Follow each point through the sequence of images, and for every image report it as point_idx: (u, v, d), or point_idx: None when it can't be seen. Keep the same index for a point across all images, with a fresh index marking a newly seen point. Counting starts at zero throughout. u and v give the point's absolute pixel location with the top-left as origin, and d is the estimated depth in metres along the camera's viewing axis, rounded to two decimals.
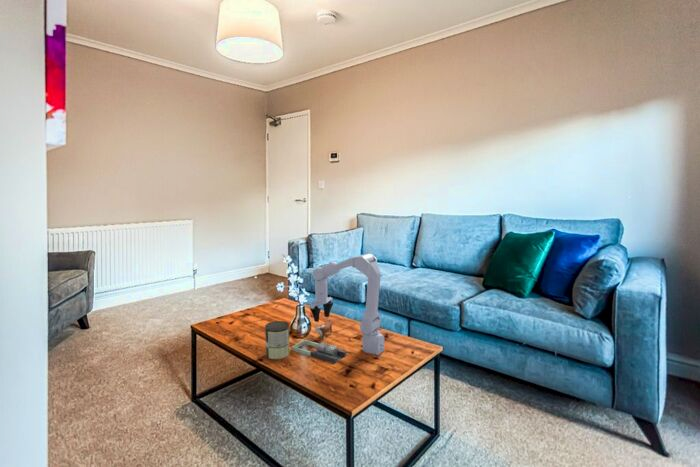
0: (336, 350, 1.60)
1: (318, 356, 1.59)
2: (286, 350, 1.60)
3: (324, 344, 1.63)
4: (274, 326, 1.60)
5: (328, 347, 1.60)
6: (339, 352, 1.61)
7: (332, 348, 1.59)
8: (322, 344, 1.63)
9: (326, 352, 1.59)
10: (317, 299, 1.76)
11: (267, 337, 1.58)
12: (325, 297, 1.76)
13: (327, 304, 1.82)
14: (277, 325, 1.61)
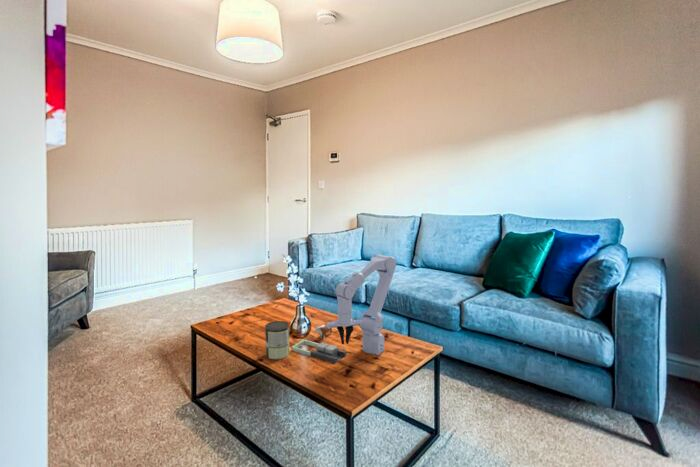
0: (336, 350, 1.60)
1: (318, 356, 1.59)
2: (286, 350, 1.60)
3: (324, 344, 1.63)
4: (274, 326, 1.60)
5: (328, 347, 1.60)
6: (339, 352, 1.61)
7: (332, 348, 1.59)
8: (322, 344, 1.63)
9: (326, 352, 1.59)
10: (338, 319, 1.54)
11: (267, 337, 1.58)
12: (345, 319, 1.52)
13: (347, 328, 1.54)
14: (277, 325, 1.61)
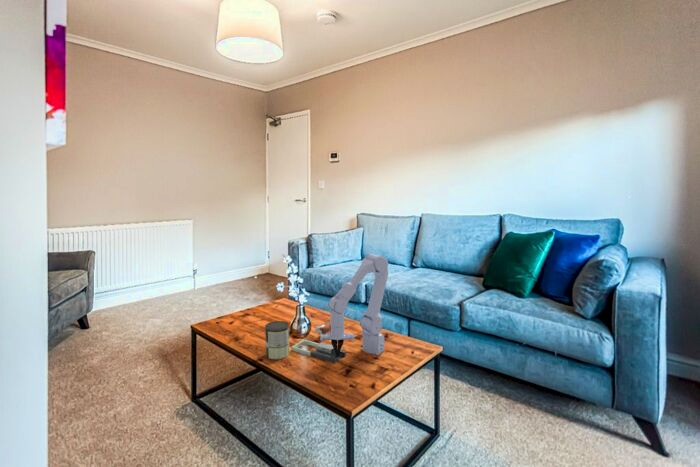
0: None
1: (318, 356, 1.59)
2: (286, 350, 1.60)
3: (324, 344, 1.63)
4: (274, 326, 1.60)
5: (327, 346, 1.60)
6: None
7: (331, 347, 1.59)
8: (322, 344, 1.63)
9: (325, 351, 1.60)
10: None
11: (267, 337, 1.58)
12: (336, 332, 1.54)
13: None
14: (277, 325, 1.61)
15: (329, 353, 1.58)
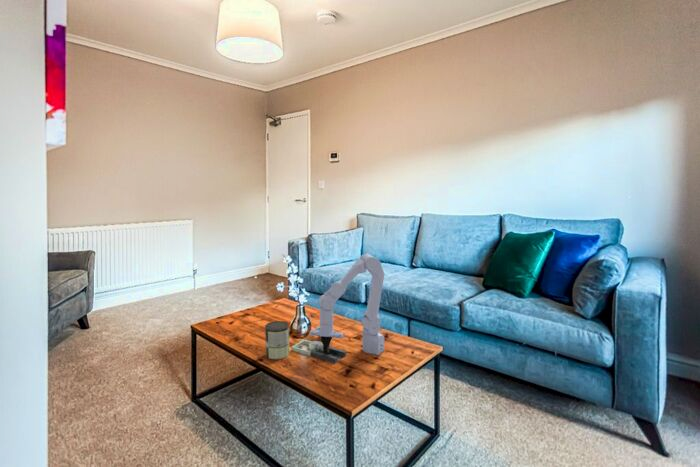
0: None
1: (318, 356, 1.59)
2: (286, 350, 1.60)
3: (316, 342, 1.66)
4: (274, 326, 1.60)
5: (320, 343, 1.63)
6: (339, 352, 1.61)
7: None
8: (314, 342, 1.66)
9: (318, 348, 1.62)
10: None
11: (267, 337, 1.58)
12: (323, 329, 1.57)
13: None
14: (277, 325, 1.61)
15: (321, 349, 1.61)
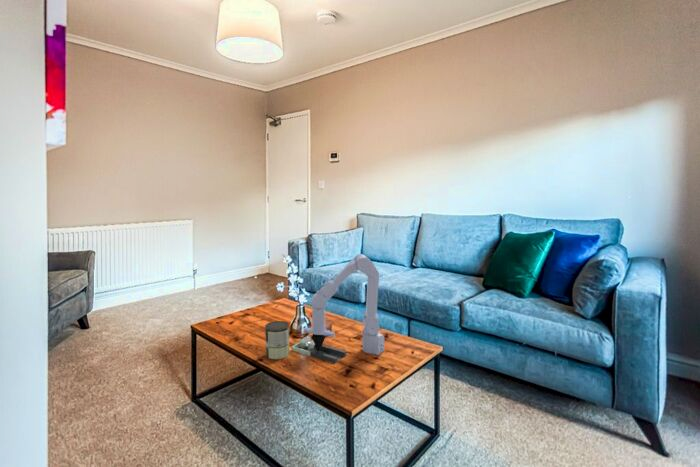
0: None
1: (318, 356, 1.59)
2: (286, 350, 1.60)
3: (309, 340, 1.68)
4: (274, 326, 1.60)
5: (310, 342, 1.66)
6: (339, 352, 1.61)
7: (314, 343, 1.65)
8: (308, 339, 1.68)
9: (308, 347, 1.65)
10: None
11: (267, 337, 1.58)
12: (315, 327, 1.60)
13: None
14: (277, 325, 1.61)
15: (312, 348, 1.64)
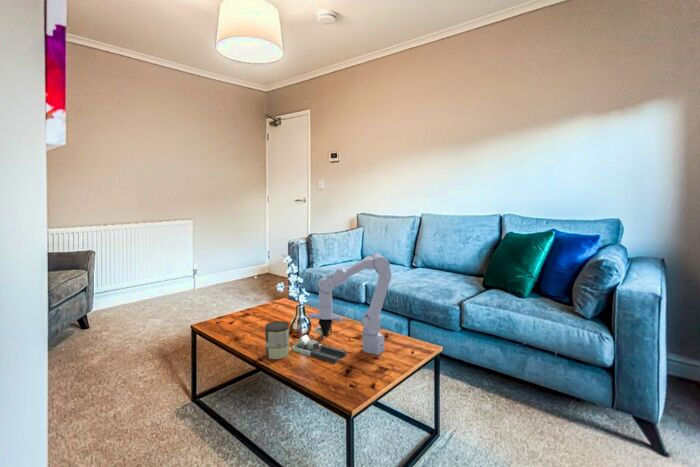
0: (317, 345, 1.66)
1: (318, 356, 1.59)
2: (286, 350, 1.60)
3: (307, 339, 1.69)
4: (274, 326, 1.60)
5: (309, 342, 1.67)
6: (339, 352, 1.61)
7: (313, 343, 1.65)
8: (306, 338, 1.69)
9: (307, 346, 1.66)
10: None
11: (267, 337, 1.58)
12: (322, 312, 1.57)
13: None
14: (277, 325, 1.61)
15: (311, 348, 1.64)
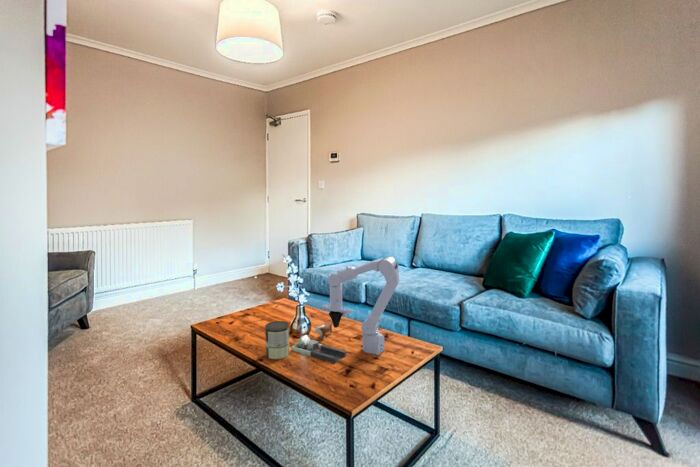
0: (317, 345, 1.66)
1: (318, 356, 1.59)
2: (286, 350, 1.60)
3: (307, 339, 1.69)
4: (274, 326, 1.60)
5: (309, 342, 1.67)
6: (339, 352, 1.61)
7: (313, 343, 1.65)
8: (306, 338, 1.69)
9: (307, 346, 1.66)
10: None
11: (267, 337, 1.58)
12: (332, 304, 1.68)
13: None
14: (277, 325, 1.61)
15: (311, 348, 1.64)
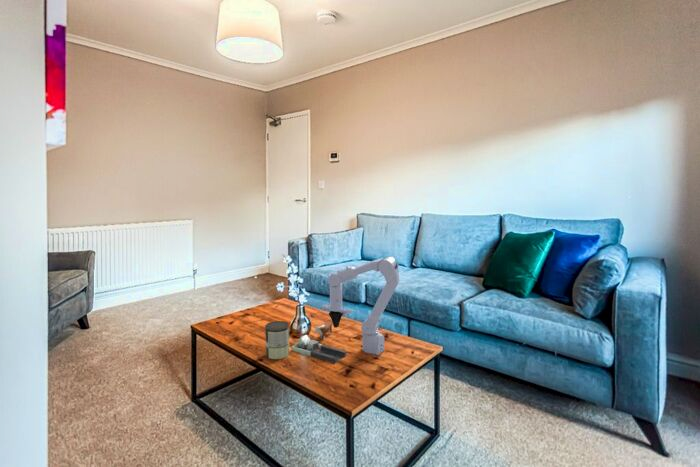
0: (317, 345, 1.66)
1: (318, 356, 1.59)
2: (286, 350, 1.60)
3: (307, 339, 1.69)
4: (274, 326, 1.60)
5: (309, 342, 1.67)
6: (339, 352, 1.61)
7: (313, 343, 1.65)
8: (306, 338, 1.69)
9: (307, 346, 1.66)
10: None
11: (267, 337, 1.58)
12: (332, 304, 1.68)
13: None
14: (277, 325, 1.61)
15: (311, 348, 1.64)
